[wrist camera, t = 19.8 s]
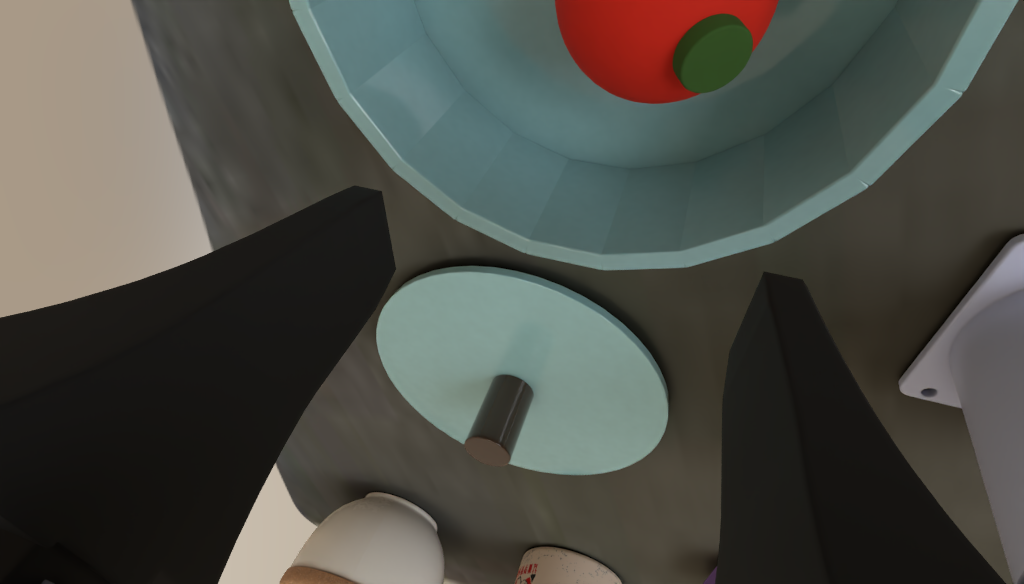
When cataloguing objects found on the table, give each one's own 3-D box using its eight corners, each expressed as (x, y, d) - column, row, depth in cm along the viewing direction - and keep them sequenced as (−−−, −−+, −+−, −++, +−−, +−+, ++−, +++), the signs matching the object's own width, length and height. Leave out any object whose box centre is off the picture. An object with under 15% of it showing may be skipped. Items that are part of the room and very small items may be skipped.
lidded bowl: (345, 516, 56) (278, 635, 48) (331, 456, 47) (246, 590, 39) (462, 563, 54) (412, 694, 47) (470, 510, 45) (410, 662, 38)
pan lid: (706, 302, 23) (695, 399, 20) (642, 487, 34) (627, 570, 31) (361, 226, 27) (300, 297, 23) (405, 416, 38) (368, 483, 35)
